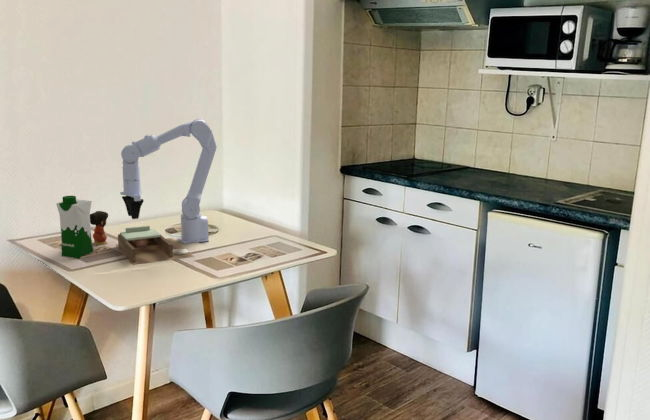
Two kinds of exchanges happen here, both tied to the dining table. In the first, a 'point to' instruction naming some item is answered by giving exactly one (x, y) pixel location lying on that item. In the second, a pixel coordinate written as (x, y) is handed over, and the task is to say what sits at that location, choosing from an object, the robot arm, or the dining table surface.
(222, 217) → the dining table surface
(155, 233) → the lid
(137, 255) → the brown wooden tray
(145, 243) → the tan domed cylinder
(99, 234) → the figurine
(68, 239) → the milk carton
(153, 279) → the dining table surface
